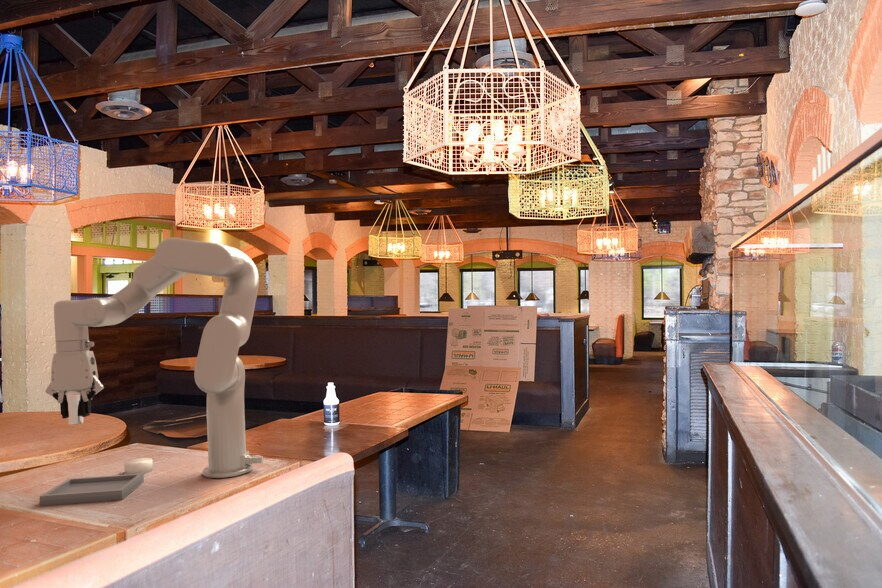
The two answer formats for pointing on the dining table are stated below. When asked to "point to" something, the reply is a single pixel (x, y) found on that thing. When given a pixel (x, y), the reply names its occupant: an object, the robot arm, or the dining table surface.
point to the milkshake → (74, 407)
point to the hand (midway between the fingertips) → (76, 416)
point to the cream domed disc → (138, 466)
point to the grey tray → (92, 489)
